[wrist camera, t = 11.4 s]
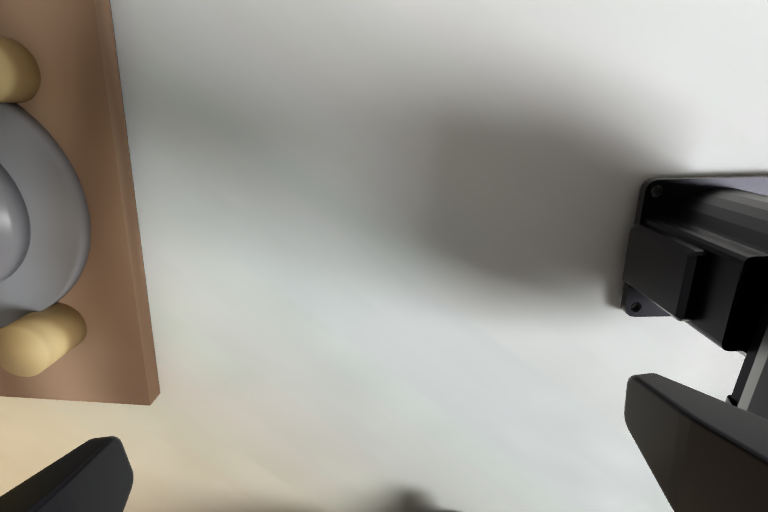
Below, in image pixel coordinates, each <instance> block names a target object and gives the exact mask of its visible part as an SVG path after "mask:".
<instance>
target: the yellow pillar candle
mask: <svg viewBox="0 0 768 512" xmlns="http://www.w3.org/2000/svg"><path fill="white" fill-rule="evenodd" d="M30 237H31V234H30V220H29V214H28V211H27V207H26V204H25V202H24V199H23V197H22V194H21V192H20V191H19V189H18V187H17V185H16V183H15V182H14V180H13V179H12V177H11V176H10V175H9V173H8V172H7V171H6V169H5V168H4V167H3V166H2V165H1V164H0V282H1V281H3V280H5V279H6V278H8V277H10V276H11V275H12V274H13V273H14V272H15V271H16V270H17V269H18V268H19V267H20V265H21V264H22V263H23V261H24V259H25V257H26V255H27V251H28V248H29V244H30Z"/></svg>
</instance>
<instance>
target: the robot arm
mask: <svg viewBox="0 0 768 512" xmlns="http://www.w3.org/2000/svg"><path fill="white" fill-rule="evenodd" d="M654 186H657V189H658V190H657V192H656V193H655V194H654V195H651V190H652V188H653V187H654ZM623 279H624V280H625V283H624V289H623V295H622V301H621V308H622V310H623V311H624V312H625V313H627V314H628V315H629V316H633V317H650V316H672V317H674V318H675V319H677V320H678V321H685V322H686V323H687V324H689V325H690V326H691V327H693V328H694V329H696V330H697V331H698V332H700V333H701V334H703V335H704V336H705V337H707V338H708V339H710V340H711V341H712V342H714V343H715V344H717V345H718V346H719V347H721V348H722V349H723V350H726V351H738V352H739V353H741V354H742V355H744V356H745V360H744V363H743V365H742V368H741V371H740V374H739V376H738V379H737V382H736V385H735V387H734V390H733V393H732V395H728V396H727V398H726V401H725V402H724V401H721V400H719V399H716V398H714V397H712V396H709V395H707V394H704V393H702V392H699V391H697V390H695V389H692V388H690V387H687V386H685V385H682V384H680V383H677V382H675V381H673V380H670V379H668V378H665V377H663V376H660V375H658V374H654V373H649V374H640V375H633V376H631V377H630V378H629V379H628V382H627V390H626V400H625V410H624V416H625V422H626V425H627V427H628V429H629V431H630V433H631V435H632V437H633V439H634V440H635V442H636V444H637V446H638V448H639V449H640V451H641V453H642V455H643V457H644V458H645V460H646V462H647V464H648V466H649V467H650V469H651V471H652V473H653V475H654V477H655V478H656V480H657V482H658V484H659V486H660V487H661V489H662V491H663V493H664V495H665V496H666V498H667V500H668V502H669V503H670V505H671V507H672V508H673V510H674V512H768V175H767V176H725V177H682V178H652V179H648V180H647V181H645V182H644V183H643V184H642V186H641V189H640V193H639V199H638V205H637V211H636V217H635V223H634V226H633V227H632V228H631V230H630V235H629V242H628V248H627V254H626V260H625V266H624V272H623ZM636 302H637V305H636V306H635V307H634V308H631V305H632V304H633V303H636ZM132 485H133V471H132V468H131V465H130V463H129V460H128V457H127V455H126V452H125V450H124V447H123V444H122V442H121V440H120V439H119V438H117V437H115V436H109V437H101V438H94V439H91V440H88V441H87V442H85V443H84V444H82V445H80V446H79V447H77V448H76V449H74V450H73V451H71V452H70V453H68V454H66V455H65V456H63V457H62V458H60V459H59V460H57V461H55V462H54V463H52V464H51V465H49V466H48V467H46V468H45V469H43V470H41V471H40V472H38V473H37V474H35V475H34V476H32V477H30V478H29V479H27V480H26V481H24V482H23V483H21V484H20V485H18V486H16V487H15V488H13V489H12V490H10V491H9V492H7V493H5V494H4V495H2V496H1V497H0V512H123V510H124V508H125V505H126V502H127V499H128V497H129V494H130V491H131V488H132Z"/></svg>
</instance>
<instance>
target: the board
mask: <svg viewBox="0 0 768 512" xmlns="http://www.w3.org/2000/svg"><path fill="white" fill-rule="evenodd" d="M0 164H1V165H2V166H3V167H4V168H5V169H6V171H7V172H8V173H9V175H10V176H11V177H12V179H13V180H14V182H15V183H16V185H17V187H18V189H19V191H20V192H21V194H22V197H23V199H24V202H25V204H26V207H27V211H28V214H29V220H30V234H31V237H30V244H29V248H28V251H27V255H26V257H25V259H24V261H23V263H22V264H21V265H20V267H19V268H18V269H17V270H16V271H15V272H14V273H13V274H12V275H11V276H10V277H8V278H6V279H5V280H3V281H1V282H0V396H6V397H22V398H38V399H55V400H71V401H87V402H103V403H119V404H136V405H151V404H152V402H153V401H154V400H155V399H156V398H157V396H158V395H159V394H160V389H159V381H158V373H157V365H156V357H155V350H154V342H153V334H152V326H151V318H150V311H149V303H148V295H147V287H146V279H145V271H144V264H143V256H142V248H141V240H140V232H139V225H138V217H137V209H136V201H135V193H134V185H133V178H132V170H131V162H130V154H129V146H128V139H127V131H126V123H125V115H124V107H123V99H122V92H121V84H120V76H119V68H118V60H117V53H116V45H115V37H114V29H113V21H112V13H111V6H110V0H0Z"/></svg>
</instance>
